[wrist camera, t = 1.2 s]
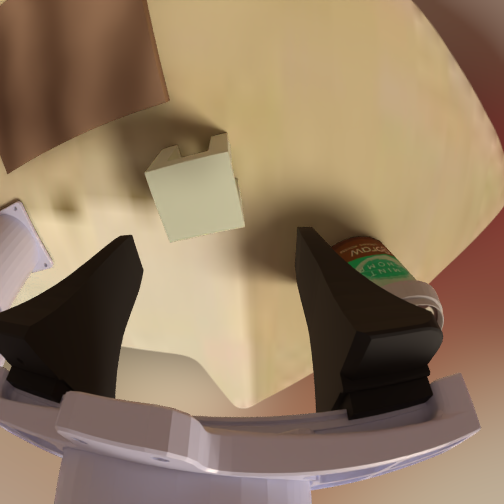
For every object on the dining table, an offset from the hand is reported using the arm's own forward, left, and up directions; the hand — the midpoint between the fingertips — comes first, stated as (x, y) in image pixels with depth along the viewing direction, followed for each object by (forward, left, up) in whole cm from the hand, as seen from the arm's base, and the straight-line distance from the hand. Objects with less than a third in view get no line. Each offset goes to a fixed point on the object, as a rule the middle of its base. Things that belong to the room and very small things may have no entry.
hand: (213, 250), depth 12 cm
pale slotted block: (-1, 0, -11) cm, 11 cm away
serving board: (-10, +14, -11) cm, 21 cm away
